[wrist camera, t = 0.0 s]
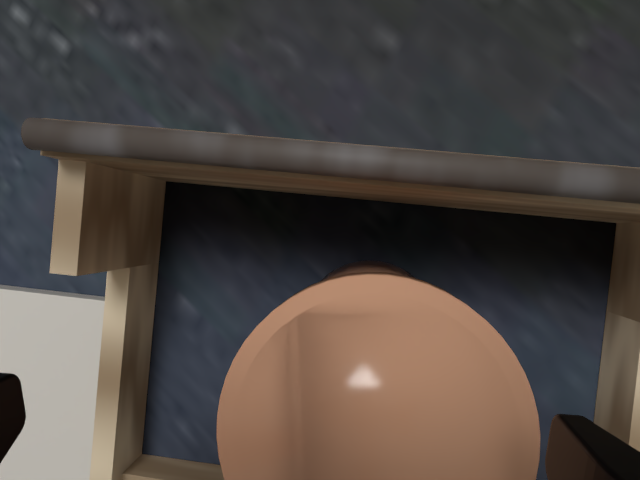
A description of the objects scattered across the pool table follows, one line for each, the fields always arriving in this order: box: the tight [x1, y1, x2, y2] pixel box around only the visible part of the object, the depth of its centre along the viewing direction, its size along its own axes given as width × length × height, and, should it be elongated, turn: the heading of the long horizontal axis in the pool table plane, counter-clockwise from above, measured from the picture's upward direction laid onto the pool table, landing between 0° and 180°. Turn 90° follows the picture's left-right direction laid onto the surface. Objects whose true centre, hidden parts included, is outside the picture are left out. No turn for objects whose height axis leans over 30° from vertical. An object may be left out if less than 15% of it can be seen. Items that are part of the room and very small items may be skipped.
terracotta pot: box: [217, 260, 540, 480], centre depth 17 cm, size 7×7×12 cm
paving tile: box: [0, 285, 105, 480], centre depth 25 cm, size 10×10×1 cm
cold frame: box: [21, 118, 640, 480], centre depth 19 cm, size 16×23×9 cm
